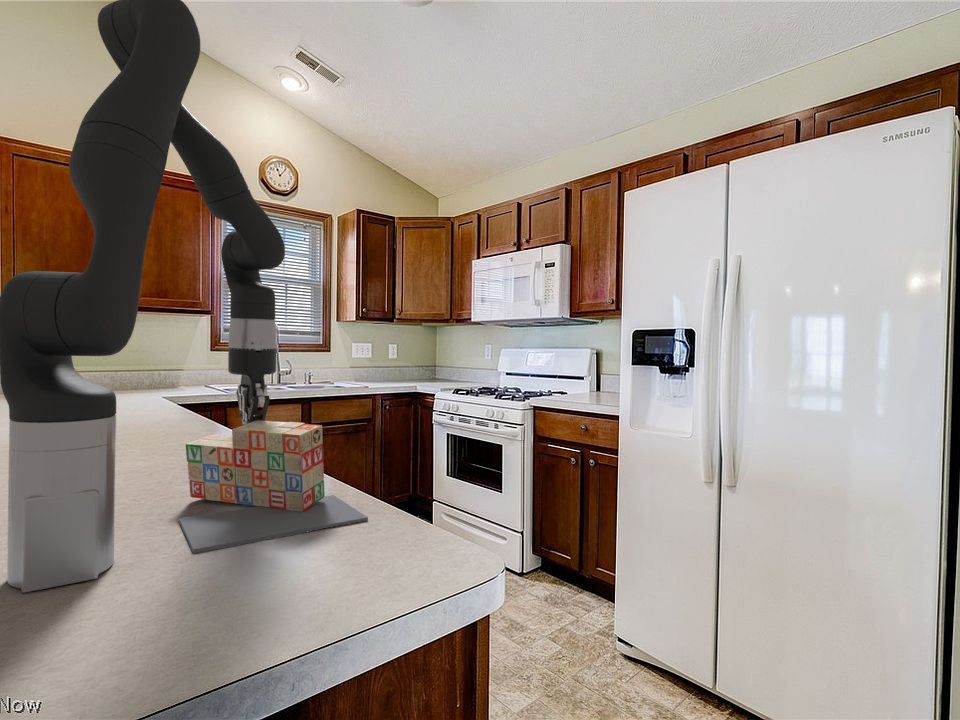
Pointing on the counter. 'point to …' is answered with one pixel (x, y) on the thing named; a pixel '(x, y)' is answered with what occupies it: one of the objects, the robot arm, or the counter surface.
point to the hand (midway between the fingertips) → (251, 446)
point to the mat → (264, 523)
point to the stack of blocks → (260, 465)
